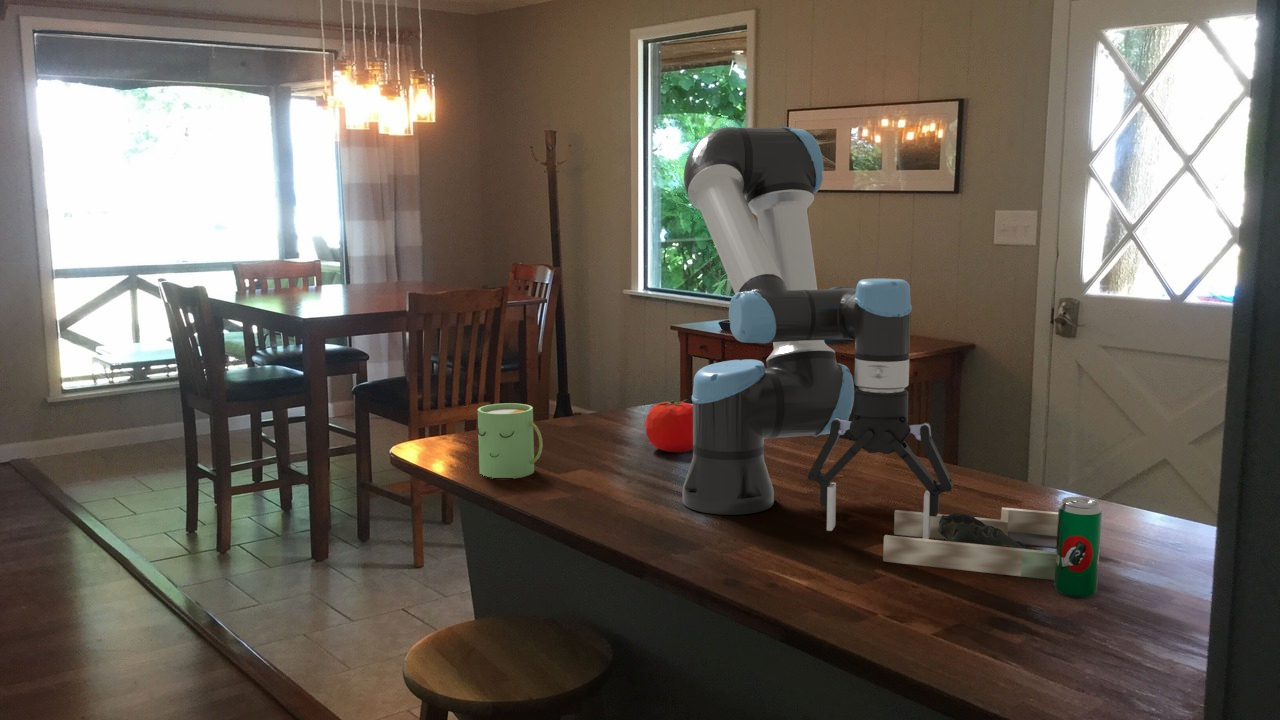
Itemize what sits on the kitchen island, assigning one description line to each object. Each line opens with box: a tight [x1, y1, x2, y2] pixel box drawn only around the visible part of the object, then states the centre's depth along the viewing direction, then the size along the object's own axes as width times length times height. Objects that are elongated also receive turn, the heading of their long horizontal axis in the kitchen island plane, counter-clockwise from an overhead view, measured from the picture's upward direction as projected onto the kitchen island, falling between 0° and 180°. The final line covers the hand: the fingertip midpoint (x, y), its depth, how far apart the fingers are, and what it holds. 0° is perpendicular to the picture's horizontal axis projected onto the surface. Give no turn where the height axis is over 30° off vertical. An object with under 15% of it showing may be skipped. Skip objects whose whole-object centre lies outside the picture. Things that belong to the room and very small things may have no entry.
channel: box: [882, 507, 1058, 581], centre depth 150 cm, size 27×20×4 cm
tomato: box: [644, 398, 693, 453], centre depth 210 cm, size 12×12×10 cm
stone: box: [938, 512, 1029, 549], centre depth 148 cm, size 7×13×5 cm, turn 52°
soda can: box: [1053, 496, 1103, 599], centre depth 133 cm, size 5×5×12 cm
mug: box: [477, 402, 544, 479], centre depth 194 cm, size 13×10×12 cm
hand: (877, 533), depth 152 cm, fingers open, 13 cm apart
